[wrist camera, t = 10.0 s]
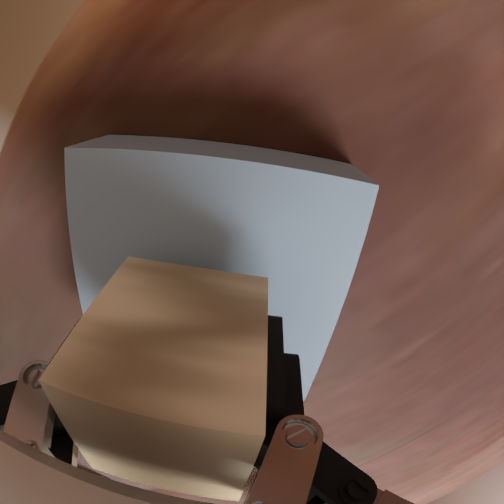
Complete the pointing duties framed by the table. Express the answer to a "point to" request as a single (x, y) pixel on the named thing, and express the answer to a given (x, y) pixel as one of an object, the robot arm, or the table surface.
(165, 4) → the table surface
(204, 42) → the table surface
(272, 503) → the robot arm
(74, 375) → the birch block
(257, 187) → the base block
